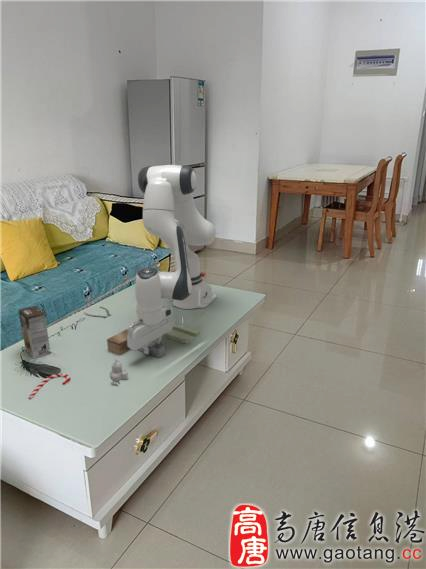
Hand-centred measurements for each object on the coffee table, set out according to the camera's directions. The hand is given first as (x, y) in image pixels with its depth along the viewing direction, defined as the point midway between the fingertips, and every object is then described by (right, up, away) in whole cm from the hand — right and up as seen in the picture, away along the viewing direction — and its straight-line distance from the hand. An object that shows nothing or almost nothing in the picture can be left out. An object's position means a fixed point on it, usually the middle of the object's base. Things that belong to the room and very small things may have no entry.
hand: (152, 350), depth 155 cm
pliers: (-25, +10, +35) cm, 44 cm away
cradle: (+7, +3, +14) cm, 16 cm away
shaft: (-3, 0, +2) cm, 3 cm away
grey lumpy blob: (-9, -8, -14) cm, 18 cm away
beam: (-9, 0, +7) cm, 11 cm away
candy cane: (-30, -9, -17) cm, 36 cm away
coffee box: (-42, -1, +4) cm, 43 cm away
